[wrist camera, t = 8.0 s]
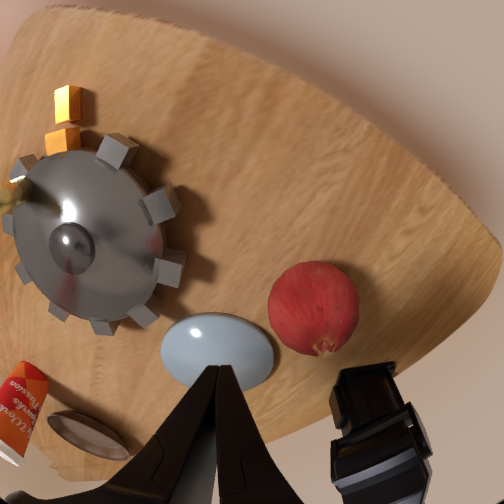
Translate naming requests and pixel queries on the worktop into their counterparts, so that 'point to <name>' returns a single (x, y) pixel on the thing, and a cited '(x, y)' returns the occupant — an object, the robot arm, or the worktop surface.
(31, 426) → the paper cup
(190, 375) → the coaster
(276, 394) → the worktop surface
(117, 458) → the saucer
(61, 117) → the wooden toy brick
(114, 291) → the sprocket
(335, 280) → the onion
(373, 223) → the worktop surface
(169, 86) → the worktop surface
